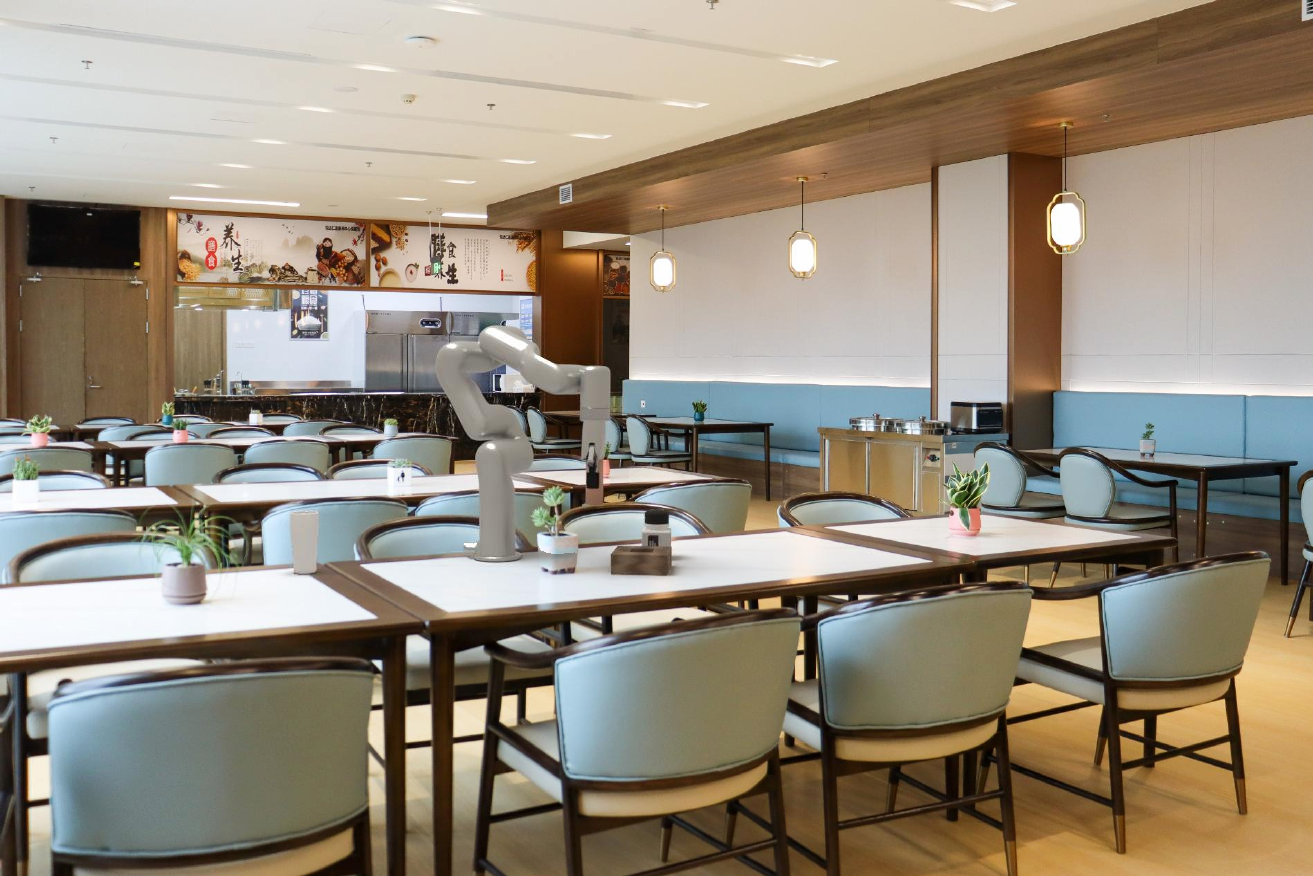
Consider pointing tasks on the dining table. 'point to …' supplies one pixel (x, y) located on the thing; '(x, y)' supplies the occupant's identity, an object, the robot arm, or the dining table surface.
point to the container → (656, 529)
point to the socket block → (641, 560)
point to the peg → (596, 494)
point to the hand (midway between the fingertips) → (594, 486)
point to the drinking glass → (304, 540)
